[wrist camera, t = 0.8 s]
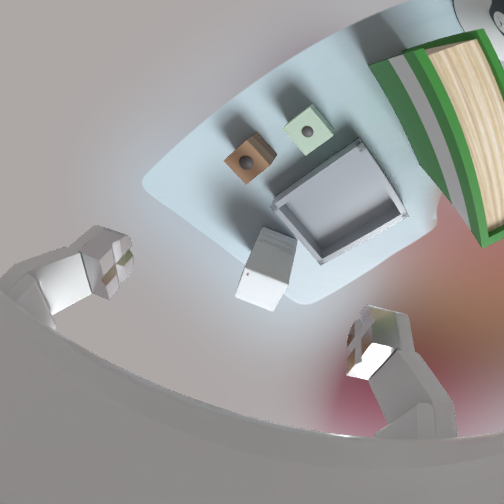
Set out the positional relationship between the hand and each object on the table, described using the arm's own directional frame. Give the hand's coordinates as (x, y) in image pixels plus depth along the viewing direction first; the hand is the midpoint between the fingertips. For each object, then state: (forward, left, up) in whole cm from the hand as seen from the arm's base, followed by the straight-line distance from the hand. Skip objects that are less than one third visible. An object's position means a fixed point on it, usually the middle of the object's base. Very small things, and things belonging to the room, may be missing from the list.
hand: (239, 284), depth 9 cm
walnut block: (+11, -1, -38) cm, 39 cm away
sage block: (+1, +1, -38) cm, 38 cm away
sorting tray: (+5, +14, -38) cm, 40 cm away
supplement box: (+21, +15, -38) cm, 46 cm away
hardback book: (-15, +8, -38) cm, 41 cm away
